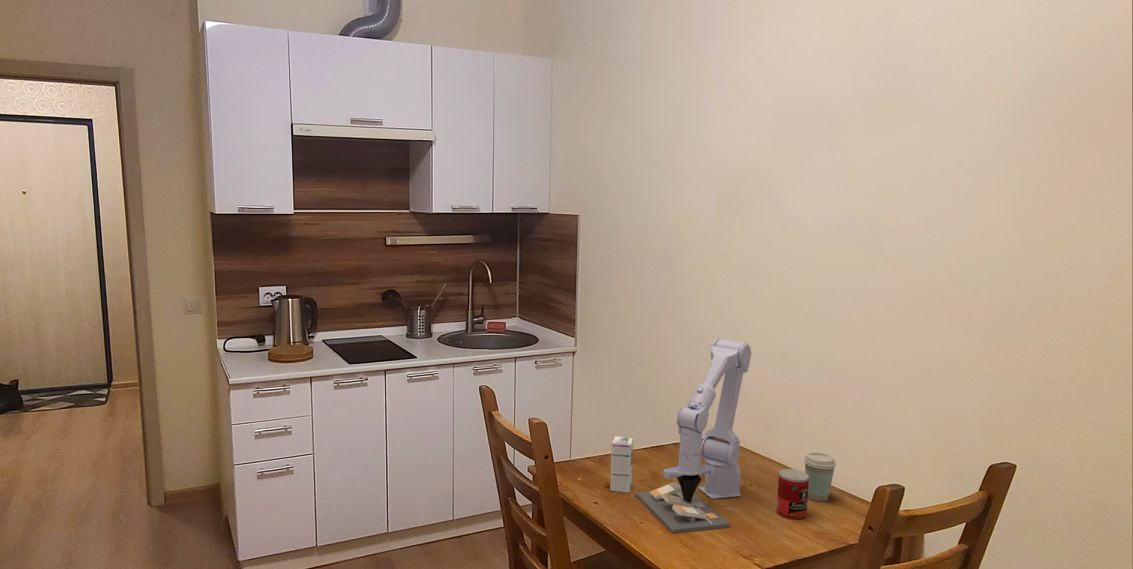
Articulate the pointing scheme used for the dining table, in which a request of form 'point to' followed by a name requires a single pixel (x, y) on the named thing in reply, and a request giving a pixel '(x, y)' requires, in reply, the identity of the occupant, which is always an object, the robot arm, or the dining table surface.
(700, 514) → the rocker
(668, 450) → the dining table surface
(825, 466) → the coffee cup
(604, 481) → the dining table surface
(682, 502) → the rocker
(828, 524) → the dining table surface
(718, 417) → the robot arm
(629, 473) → the syrup box
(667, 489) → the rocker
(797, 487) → the canned food
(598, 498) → the dining table surface
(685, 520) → the switch unit
